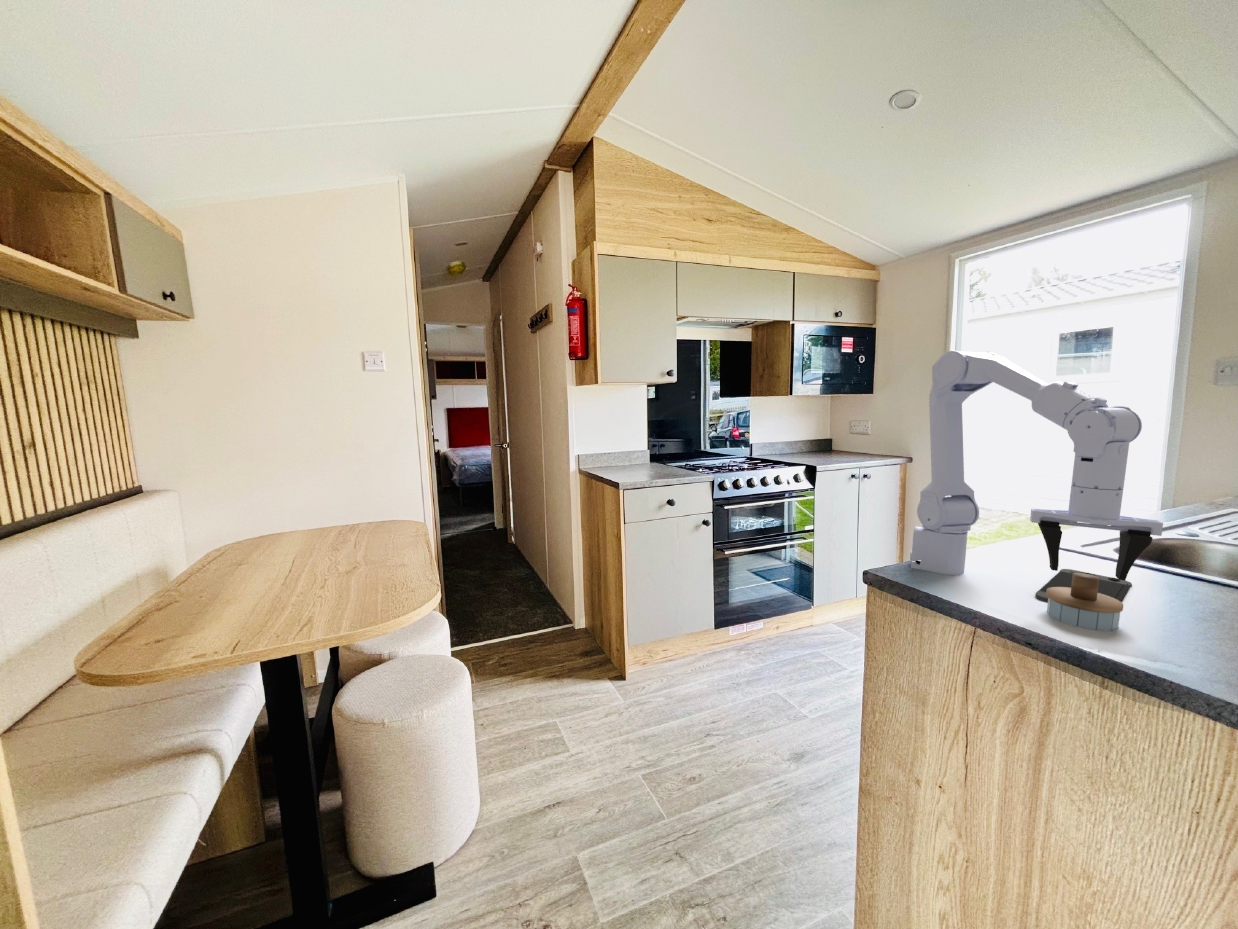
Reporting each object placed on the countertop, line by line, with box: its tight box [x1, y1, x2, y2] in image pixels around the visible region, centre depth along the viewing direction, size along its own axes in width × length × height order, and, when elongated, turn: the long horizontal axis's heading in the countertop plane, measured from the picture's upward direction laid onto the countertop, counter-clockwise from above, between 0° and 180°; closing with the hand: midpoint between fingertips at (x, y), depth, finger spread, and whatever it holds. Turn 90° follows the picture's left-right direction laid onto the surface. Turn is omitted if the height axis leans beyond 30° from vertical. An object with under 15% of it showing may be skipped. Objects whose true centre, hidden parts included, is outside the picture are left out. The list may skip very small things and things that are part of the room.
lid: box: [1046, 573, 1124, 613], centre depth 78 cm, size 9×9×4 cm
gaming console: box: [1035, 568, 1133, 603], centre depth 90 cm, size 24×1×10 cm
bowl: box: [1046, 598, 1121, 632], centre depth 78 cm, size 8×8×4 cm
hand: (1086, 573), depth 77 cm, fingers open, 7 cm apart
